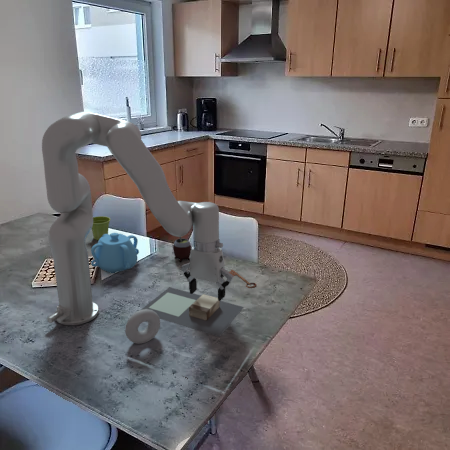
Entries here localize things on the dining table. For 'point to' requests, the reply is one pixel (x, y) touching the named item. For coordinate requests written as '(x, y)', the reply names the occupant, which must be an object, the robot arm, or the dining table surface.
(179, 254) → the mate gourd
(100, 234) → the plant pot
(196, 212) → the robot arm
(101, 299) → the dining table surface
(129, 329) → the donut
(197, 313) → the wooden block
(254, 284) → the key
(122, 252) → the decorative pot
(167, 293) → the mat
